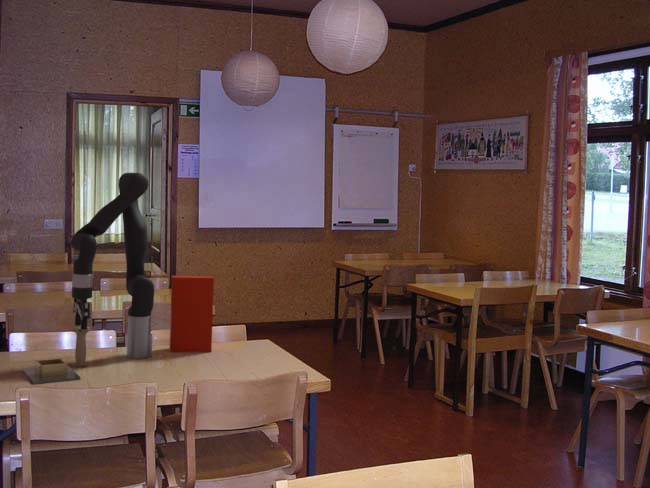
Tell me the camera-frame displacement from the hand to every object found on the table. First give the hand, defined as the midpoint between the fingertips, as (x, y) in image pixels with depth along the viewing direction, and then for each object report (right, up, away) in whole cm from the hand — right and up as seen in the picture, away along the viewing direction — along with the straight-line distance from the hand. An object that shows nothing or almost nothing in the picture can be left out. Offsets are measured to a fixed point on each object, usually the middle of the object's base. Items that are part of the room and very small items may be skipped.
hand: (80, 327), depth 281 cm
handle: (-1, -15, +1) cm, 15 cm away
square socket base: (-6, -16, -13) cm, 22 cm away
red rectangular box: (+36, -14, +36) cm, 52 cm away
